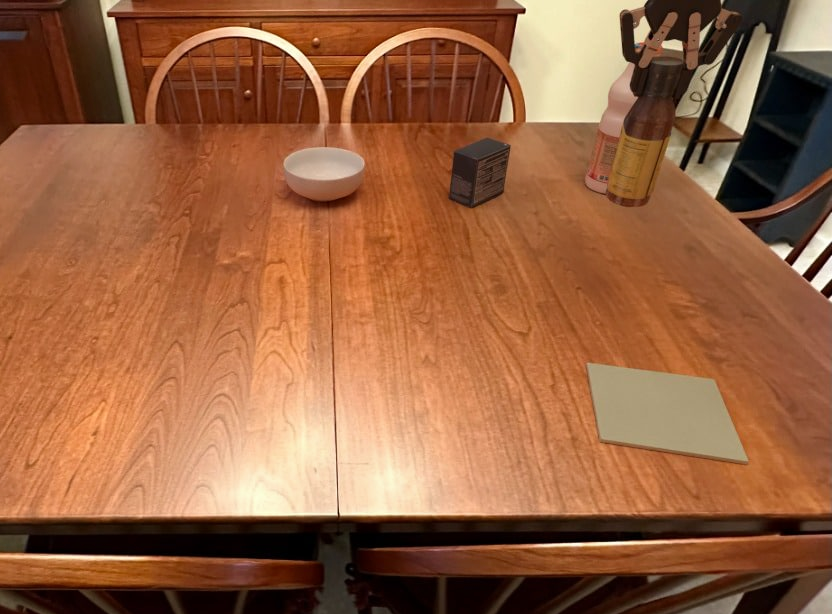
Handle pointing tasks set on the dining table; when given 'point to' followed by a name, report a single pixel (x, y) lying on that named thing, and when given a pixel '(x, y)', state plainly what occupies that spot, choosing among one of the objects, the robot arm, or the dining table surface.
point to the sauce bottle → (645, 136)
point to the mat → (663, 413)
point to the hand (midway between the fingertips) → (655, 95)
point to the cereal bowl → (324, 172)
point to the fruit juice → (611, 128)
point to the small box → (479, 172)
